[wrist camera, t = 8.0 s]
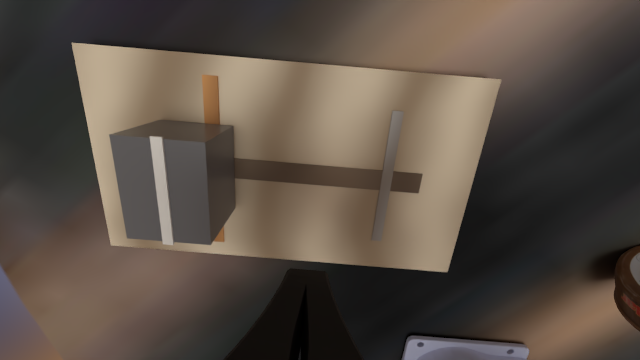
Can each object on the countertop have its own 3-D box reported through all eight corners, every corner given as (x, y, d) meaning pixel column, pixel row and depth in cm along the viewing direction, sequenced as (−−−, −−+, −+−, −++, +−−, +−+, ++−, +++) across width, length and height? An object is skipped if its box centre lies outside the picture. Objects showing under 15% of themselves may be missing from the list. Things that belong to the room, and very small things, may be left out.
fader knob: (233, 123, 16) (204, 140, 12) (235, 209, 18) (210, 248, 14) (159, 117, 16) (107, 132, 12) (169, 204, 18) (125, 241, 14)
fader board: (486, 78, 17) (502, 79, 15) (439, 258, 21) (448, 273, 19) (93, 45, 16) (69, 42, 15) (125, 233, 21) (109, 246, 19)
